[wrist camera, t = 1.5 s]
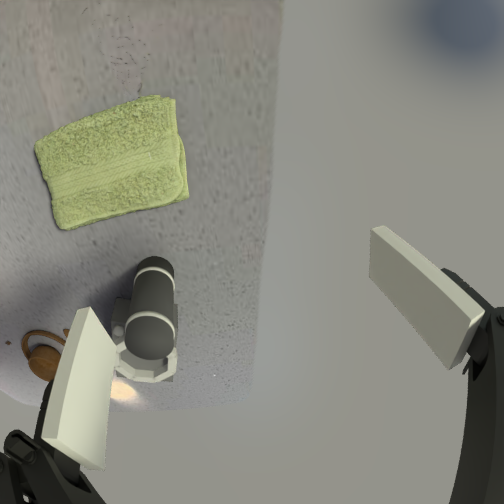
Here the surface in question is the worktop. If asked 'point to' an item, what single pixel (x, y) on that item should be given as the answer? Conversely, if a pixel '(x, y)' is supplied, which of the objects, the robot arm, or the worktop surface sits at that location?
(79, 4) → the worktop surface
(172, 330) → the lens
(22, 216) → the worktop surface
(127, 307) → the block with octagonal ring
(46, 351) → the place setting
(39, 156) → the washcloth
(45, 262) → the worktop surface
